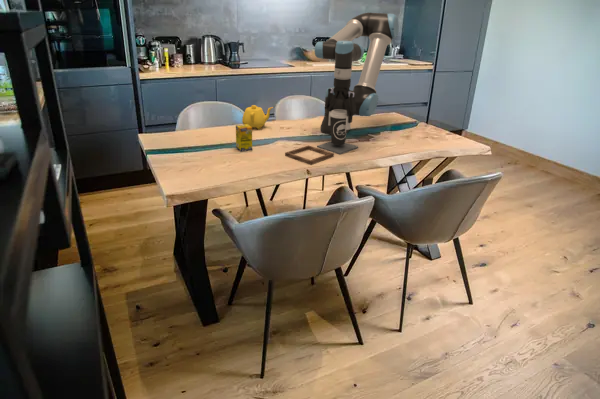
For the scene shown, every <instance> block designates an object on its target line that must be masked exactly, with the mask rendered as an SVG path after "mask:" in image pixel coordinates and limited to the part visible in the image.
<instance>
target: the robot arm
mask: <svg viewBox="0 0 600 399" xmlns="http://www.w3.org/2000/svg"><path fill="white" fill-rule="evenodd" d="M398 34H399V19H398V16H397V15H396V14H394V13H389V12H387V13H385V12H383V13H382V12H381V13H380V12H364V13H361V14H358V15H356V16H354V17H352V18H351V19H349V20H348V21H347V22H346V24H345V26H344V27H343V28H341V29H340V30H339V31H337V32H336V33H334V35H332V36H331V37H330V38H329V39H327V40H326V41H317V42H316V44H315V45H314V55H315V58H317V59H322V60H333V61H334V71H333V72H334V73H333V74H334V75H333V76H334V78H333V86H330V87H328V88H326V90H325V96H324V116H323V119H322V122H321V124H320V127H319V128H320V132H321V133H322V134H328V135H331V117H330V113H331V111H332V110H335V109H342V110H346V111H347V114H348V115H347V116H346V128H345V130H347V134H348V133H349V132H350V131H349V130H351V127H352V126H351V125H352V124H351V123H352V122H353V116H360V117H370V116H372V115H373V114H374V113H375V111H376V109H377V107H378V103H379V95H378V94H377V90H376V88H375V87H376V85H377V82H378V77H379V74H380V70H381V68H382V67H381V66H382V65H383V62H384V57H385V54H386V50H387V47H388V45H390V44H391V43H392V40H394V39H397V37H398ZM360 37H368V39H369V41H370V42H369V46H368V49H367V52H366V56H365V60H364V63H363V67H362V69H361V70H362V71H361V73H360V76H359V80H358V83H357V84H355V85H354V86H353V90H350V89H351V85H352V83H351V82H352V79H351V78H352V68H353V63H354V62H358V61H359V60H361V59H363V57H364V53H365V49H364V47H363V45H362V44H360V43H354V42H353V40H354V39H359V38H360Z"/></svg>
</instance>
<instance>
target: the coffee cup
mask: <svg viewBox="0 0 600 399" xmlns="http://www.w3.org/2000/svg"><path fill="white" fill-rule="evenodd" d="M347 115H348V114H347V111H346V110H342V109H335V110H332V111H331V113H330V117H331V134H330V141H331V143H332V144H335V145H343V144H345V143H346V140H347V134H348V133H347V130H345V128H346V116H347Z"/></svg>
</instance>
